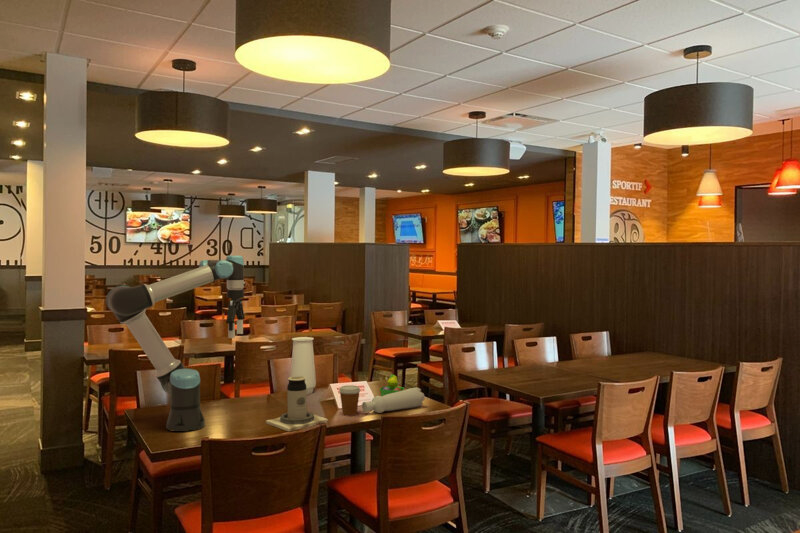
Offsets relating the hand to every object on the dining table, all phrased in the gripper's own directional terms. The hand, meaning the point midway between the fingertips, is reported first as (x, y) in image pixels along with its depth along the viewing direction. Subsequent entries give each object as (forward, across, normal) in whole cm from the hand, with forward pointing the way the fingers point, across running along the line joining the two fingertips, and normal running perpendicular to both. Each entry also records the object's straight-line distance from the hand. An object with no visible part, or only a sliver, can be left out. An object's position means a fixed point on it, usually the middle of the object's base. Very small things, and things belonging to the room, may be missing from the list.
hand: (235, 335), depth 280 cm
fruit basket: (+35, +26, -71) cm, 83 cm away
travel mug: (+34, -18, -31) cm, 49 cm away
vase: (+35, +38, -24) cm, 57 cm away
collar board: (+35, -18, -31) cm, 50 cm away
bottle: (+35, +2, -72) cm, 80 cm away
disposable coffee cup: (+35, -4, -52) cm, 63 cm away
